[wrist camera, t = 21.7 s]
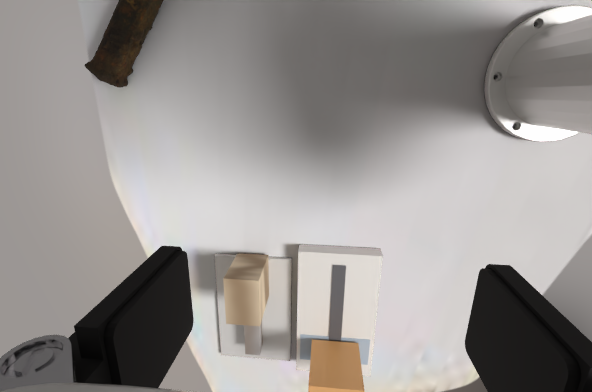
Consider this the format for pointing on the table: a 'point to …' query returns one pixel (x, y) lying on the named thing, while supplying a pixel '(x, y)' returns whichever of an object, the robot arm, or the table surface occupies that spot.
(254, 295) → the tan block on stem
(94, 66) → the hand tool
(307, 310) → the switch housing
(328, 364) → the slide tab
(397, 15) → the table surface
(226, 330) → the tool mat
